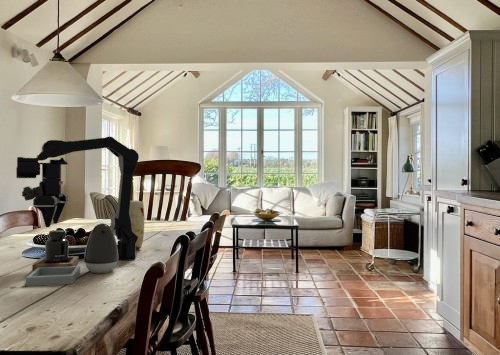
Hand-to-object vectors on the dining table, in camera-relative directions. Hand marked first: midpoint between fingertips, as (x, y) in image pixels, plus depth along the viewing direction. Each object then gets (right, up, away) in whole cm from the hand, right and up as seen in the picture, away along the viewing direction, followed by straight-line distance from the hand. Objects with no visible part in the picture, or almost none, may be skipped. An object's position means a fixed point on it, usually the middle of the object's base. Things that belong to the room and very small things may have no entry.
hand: (51, 225), depth 136 cm
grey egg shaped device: (+19, -14, -7) cm, 25 cm away
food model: (+18, -14, +30) cm, 37 cm away
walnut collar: (+3, -13, -4) cm, 14 cm away
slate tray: (+9, -14, -17) cm, 24 cm away
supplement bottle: (+3, -14, -4) cm, 14 cm away
